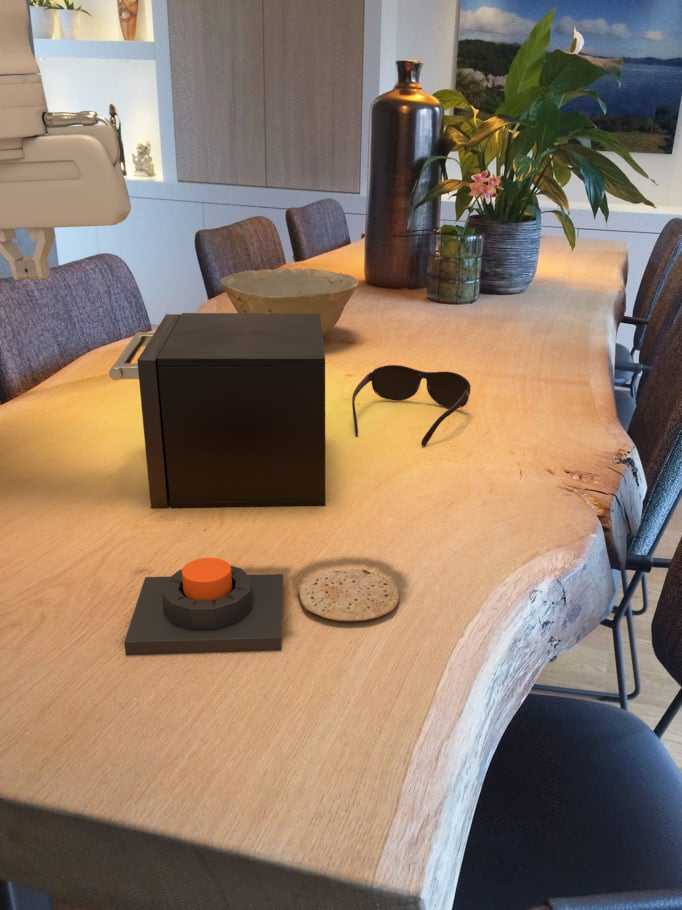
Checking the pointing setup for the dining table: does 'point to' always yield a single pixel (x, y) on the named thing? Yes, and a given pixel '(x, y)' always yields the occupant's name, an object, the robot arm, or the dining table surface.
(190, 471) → the mini oven
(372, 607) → the flatbread
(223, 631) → the block
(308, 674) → the dining table surface
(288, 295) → the ceramic bowl
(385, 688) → the dining table surface
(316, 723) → the dining table surface
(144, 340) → the oven door
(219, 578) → the button
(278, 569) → the dining table surface
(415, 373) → the sunglasses
